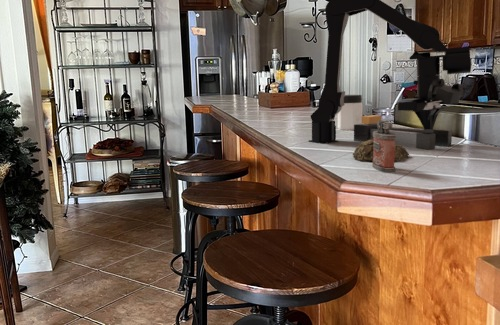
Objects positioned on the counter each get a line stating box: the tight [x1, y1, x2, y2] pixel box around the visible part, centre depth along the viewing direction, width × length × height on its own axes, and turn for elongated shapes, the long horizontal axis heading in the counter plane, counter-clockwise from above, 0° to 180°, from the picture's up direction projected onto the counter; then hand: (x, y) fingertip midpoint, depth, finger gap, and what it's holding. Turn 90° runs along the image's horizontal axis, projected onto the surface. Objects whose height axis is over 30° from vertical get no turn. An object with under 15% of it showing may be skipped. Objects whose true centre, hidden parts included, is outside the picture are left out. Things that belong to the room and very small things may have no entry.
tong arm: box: [389, 126, 453, 148], centre depth 132 cm, size 2×19×4 cm, turn 45°
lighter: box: [371, 120, 396, 174], centre depth 100 cm, size 8×3×10 cm, turn 5°
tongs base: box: [353, 123, 436, 151], centre depth 132 cm, size 9×25×5 cm, turn 33°
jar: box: [337, 94, 363, 131], centre depth 172 cm, size 9×8×12 cm
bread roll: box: [352, 140, 409, 163], centre depth 113 cm, size 13×12×5 cm
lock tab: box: [361, 114, 382, 124], centre depth 140 cm, size 5×3×2 cm, turn 123°
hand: (429, 134), depth 131 cm, fingers closed
